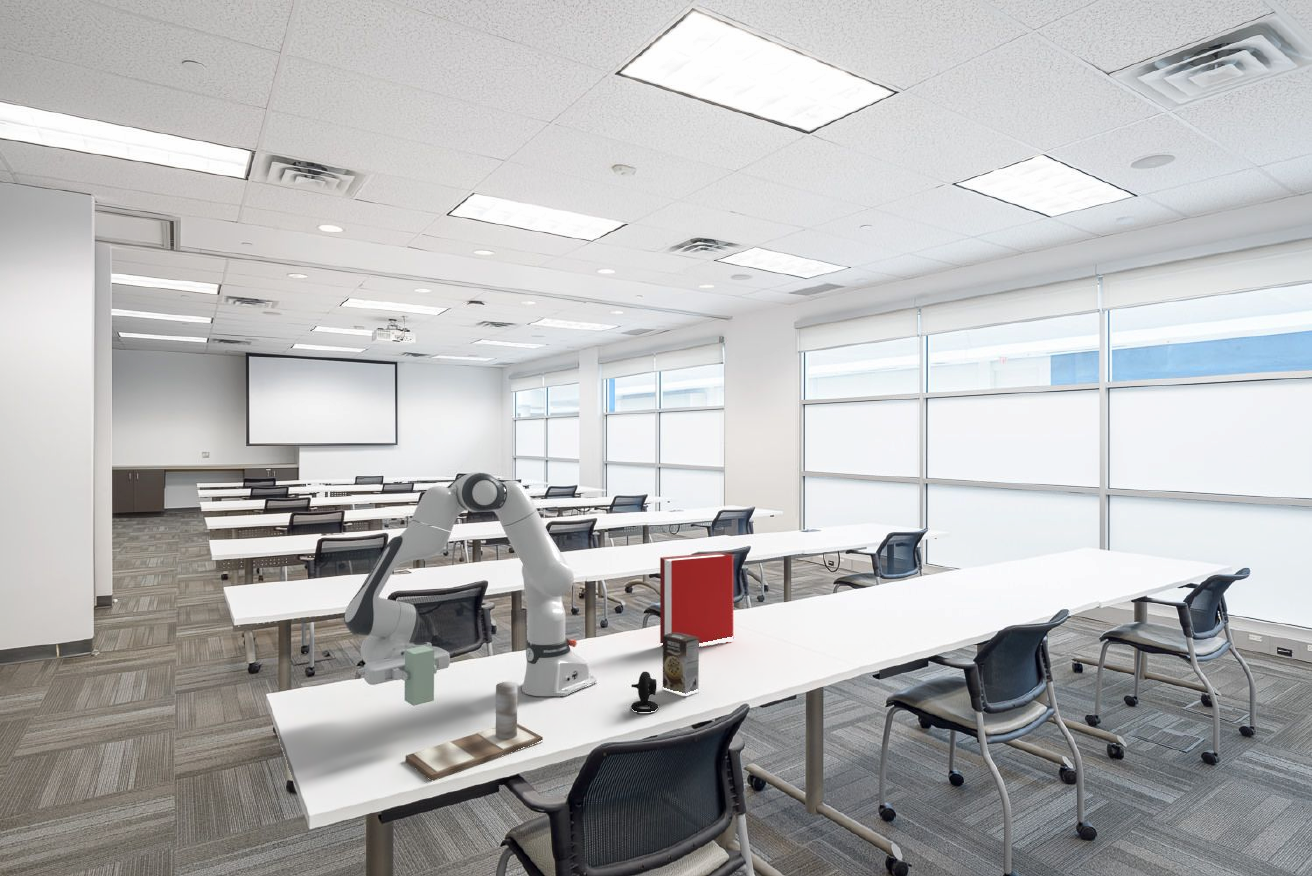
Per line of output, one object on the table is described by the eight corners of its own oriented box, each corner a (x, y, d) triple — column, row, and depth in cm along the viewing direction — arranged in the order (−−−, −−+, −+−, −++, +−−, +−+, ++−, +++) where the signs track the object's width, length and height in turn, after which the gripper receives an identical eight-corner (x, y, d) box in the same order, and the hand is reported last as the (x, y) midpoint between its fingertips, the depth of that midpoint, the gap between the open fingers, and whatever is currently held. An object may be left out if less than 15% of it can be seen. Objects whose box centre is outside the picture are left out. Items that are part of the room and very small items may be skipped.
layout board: (513, 726, 171) (513, 673, 171) (542, 742, 162) (542, 685, 162) (405, 761, 152) (406, 701, 152) (431, 781, 142) (431, 717, 143)
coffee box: (661, 690, 197) (661, 635, 198) (676, 685, 202) (676, 630, 202) (685, 698, 191) (685, 640, 192) (699, 692, 196) (699, 636, 196)
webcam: (655, 715, 178) (655, 677, 178) (628, 714, 180) (628, 676, 180) (660, 705, 186) (660, 668, 186) (634, 703, 187) (634, 667, 187)
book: (671, 652, 236) (671, 560, 237) (660, 646, 243) (660, 557, 244) (735, 641, 249) (734, 554, 250) (722, 636, 256) (722, 552, 257)
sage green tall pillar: (424, 695, 164) (425, 645, 165) (433, 700, 161) (434, 649, 161) (404, 700, 161) (405, 649, 161) (413, 706, 157) (414, 654, 158)
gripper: (354, 656, 163) (377, 670, 153) (435, 640, 177) (460, 651, 167) (354, 683, 163) (376, 698, 153) (434, 664, 177) (460, 677, 167)
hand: (421, 673), depth 160 cm, fingers closed on sage green tall pillar, 5 cm apart
